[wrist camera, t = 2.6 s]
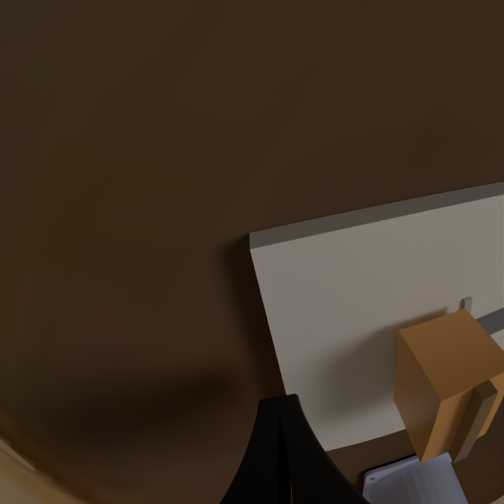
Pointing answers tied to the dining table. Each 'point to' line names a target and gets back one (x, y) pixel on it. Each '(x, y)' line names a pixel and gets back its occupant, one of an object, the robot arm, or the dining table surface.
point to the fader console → (374, 298)
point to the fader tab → (447, 384)
